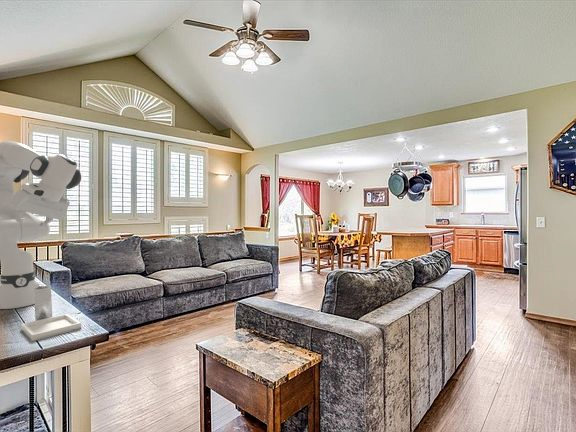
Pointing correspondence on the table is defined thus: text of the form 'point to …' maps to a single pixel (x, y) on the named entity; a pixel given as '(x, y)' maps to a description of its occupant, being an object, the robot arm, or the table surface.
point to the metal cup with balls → (43, 302)
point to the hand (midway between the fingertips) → (30, 224)
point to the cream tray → (50, 327)
